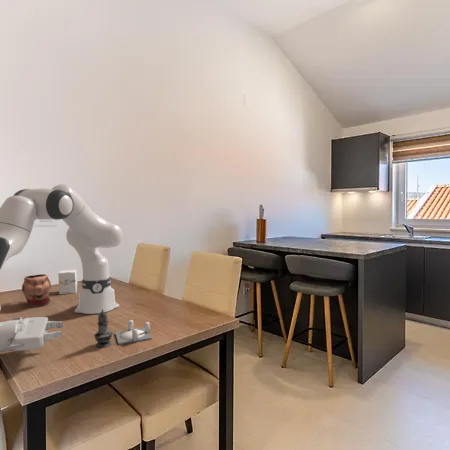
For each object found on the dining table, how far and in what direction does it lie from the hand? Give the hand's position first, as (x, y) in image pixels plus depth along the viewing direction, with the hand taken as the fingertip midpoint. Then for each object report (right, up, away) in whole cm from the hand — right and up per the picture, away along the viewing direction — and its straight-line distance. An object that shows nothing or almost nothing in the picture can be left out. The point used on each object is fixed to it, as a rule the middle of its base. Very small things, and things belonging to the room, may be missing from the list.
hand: (62, 328), depth 108 cm
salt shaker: (+11, -7, +5) cm, 14 cm away
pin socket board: (+19, -6, +12) cm, 24 cm away
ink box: (-34, -4, +78) cm, 86 cm away
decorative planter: (-39, -5, +56) cm, 69 cm away
